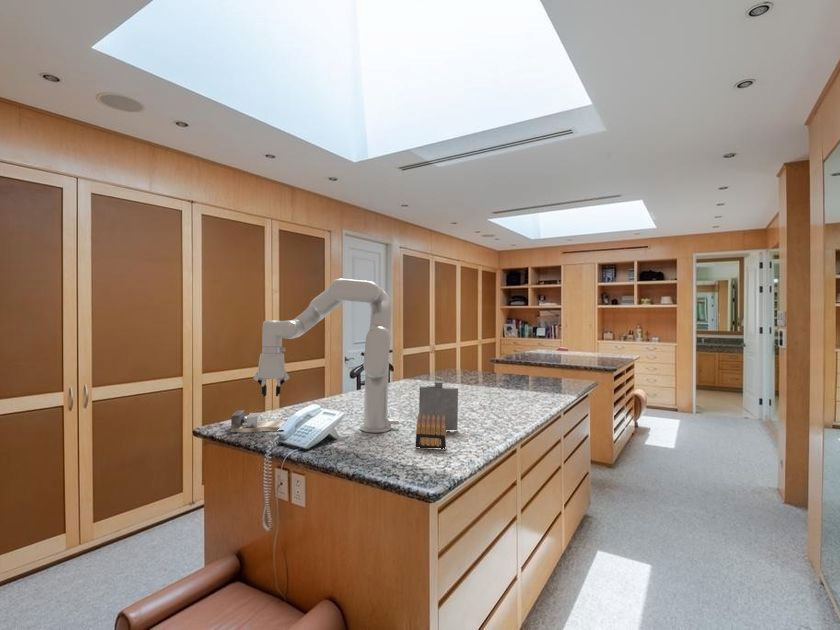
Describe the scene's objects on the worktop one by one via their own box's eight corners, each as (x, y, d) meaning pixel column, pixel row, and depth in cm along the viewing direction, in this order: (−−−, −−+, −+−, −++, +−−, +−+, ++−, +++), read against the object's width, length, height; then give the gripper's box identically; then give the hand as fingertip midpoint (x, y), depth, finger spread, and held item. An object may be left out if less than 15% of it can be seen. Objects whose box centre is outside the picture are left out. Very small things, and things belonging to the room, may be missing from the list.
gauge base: (287, 424, 181) (287, 409, 181) (284, 431, 171) (284, 414, 171) (236, 426, 177) (236, 410, 177) (230, 432, 167) (231, 415, 167)
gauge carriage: (260, 422, 178) (260, 412, 178) (256, 428, 168) (256, 418, 168) (243, 422, 176) (243, 413, 176) (238, 428, 167) (238, 418, 167)
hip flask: (457, 430, 177) (458, 381, 177) (456, 433, 173) (457, 383, 173) (419, 428, 180) (420, 380, 180) (417, 430, 176) (418, 381, 176)
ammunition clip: (415, 448, 152) (415, 414, 152) (416, 446, 154) (416, 413, 154) (445, 450, 151) (446, 415, 151) (445, 448, 153) (446, 414, 153)
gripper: (294, 350, 180) (293, 393, 180) (251, 349, 177) (251, 394, 177) (292, 351, 173) (291, 397, 173) (248, 351, 170) (247, 398, 170)
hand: (271, 395), depth 175 cm, fingers open, 4 cm apart
